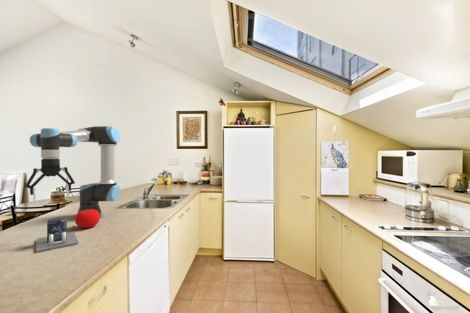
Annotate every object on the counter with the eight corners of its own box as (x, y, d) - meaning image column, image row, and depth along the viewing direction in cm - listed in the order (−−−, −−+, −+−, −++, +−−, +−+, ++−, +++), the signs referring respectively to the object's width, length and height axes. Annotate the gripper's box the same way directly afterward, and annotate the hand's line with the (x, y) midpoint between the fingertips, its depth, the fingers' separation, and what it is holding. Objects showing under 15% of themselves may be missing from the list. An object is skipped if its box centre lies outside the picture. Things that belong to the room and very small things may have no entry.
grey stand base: (73, 233, 132) (73, 223, 132) (78, 244, 117) (78, 232, 117) (36, 240, 122) (36, 228, 122) (36, 252, 107) (36, 239, 106)
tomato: (104, 224, 148) (104, 207, 148) (85, 231, 136) (84, 212, 136) (90, 223, 152) (90, 206, 152) (70, 229, 140) (70, 210, 140)
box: (47, 243, 115) (46, 221, 115) (48, 239, 120) (47, 219, 119) (66, 240, 119) (66, 219, 119) (66, 236, 124) (66, 216, 124)
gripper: (78, 157, 132) (79, 195, 133) (18, 158, 116) (19, 201, 116) (80, 157, 127) (81, 197, 127) (17, 159, 110) (18, 204, 111)
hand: (51, 199), depth 122 cm, fingers open, 13 cm apart
